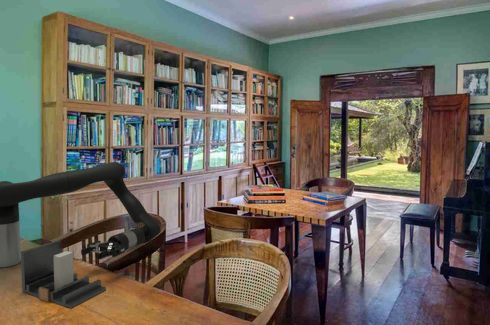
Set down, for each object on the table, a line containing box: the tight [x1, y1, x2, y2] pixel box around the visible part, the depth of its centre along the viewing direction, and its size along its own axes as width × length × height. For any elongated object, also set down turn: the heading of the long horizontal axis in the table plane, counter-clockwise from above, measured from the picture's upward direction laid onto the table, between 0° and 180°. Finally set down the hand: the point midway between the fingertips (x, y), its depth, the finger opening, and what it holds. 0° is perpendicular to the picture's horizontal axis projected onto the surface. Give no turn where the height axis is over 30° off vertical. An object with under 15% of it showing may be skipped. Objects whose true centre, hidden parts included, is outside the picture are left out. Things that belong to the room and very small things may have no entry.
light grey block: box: [54, 250, 74, 290], centre depth 119 cm, size 3×5×12 cm, turn 155°
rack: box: [20, 239, 107, 309], centre depth 119 cm, size 23×15×14 cm, turn 65°
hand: (90, 254), depth 129 cm, fingers open, 8 cm apart
